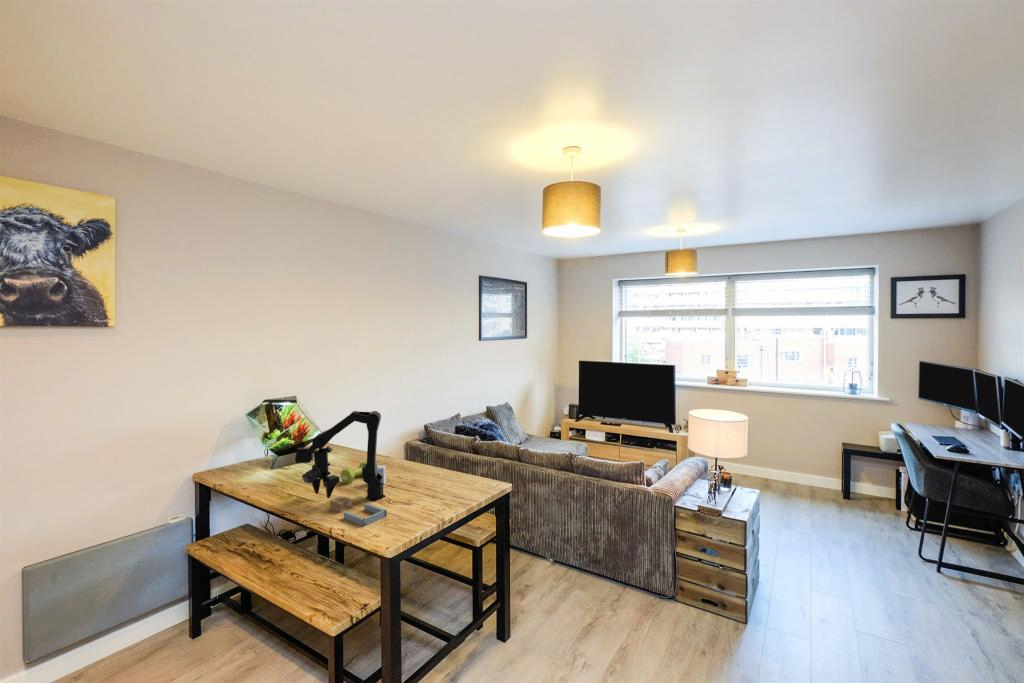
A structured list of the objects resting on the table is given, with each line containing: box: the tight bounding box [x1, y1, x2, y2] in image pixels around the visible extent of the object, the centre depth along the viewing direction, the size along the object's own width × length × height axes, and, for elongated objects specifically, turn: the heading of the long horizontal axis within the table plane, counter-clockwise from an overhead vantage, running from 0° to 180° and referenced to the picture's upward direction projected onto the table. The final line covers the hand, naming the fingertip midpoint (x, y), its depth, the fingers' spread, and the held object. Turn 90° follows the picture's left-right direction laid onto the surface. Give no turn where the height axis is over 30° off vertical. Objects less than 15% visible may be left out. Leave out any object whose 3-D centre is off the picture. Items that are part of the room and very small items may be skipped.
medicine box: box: [377, 465, 387, 486], centre depth 231 cm, size 8×4×9 cm, turn 92°
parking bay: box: [343, 503, 388, 527], centre depth 192 cm, size 11×13×2 cm
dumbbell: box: [339, 460, 367, 485], centre depth 239 cm, size 16×8×7 cm, turn 153°
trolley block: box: [329, 495, 353, 513], centre depth 202 cm, size 6×7×4 cm
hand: (322, 495), depth 210 cm, fingers open, 9 cm apart
